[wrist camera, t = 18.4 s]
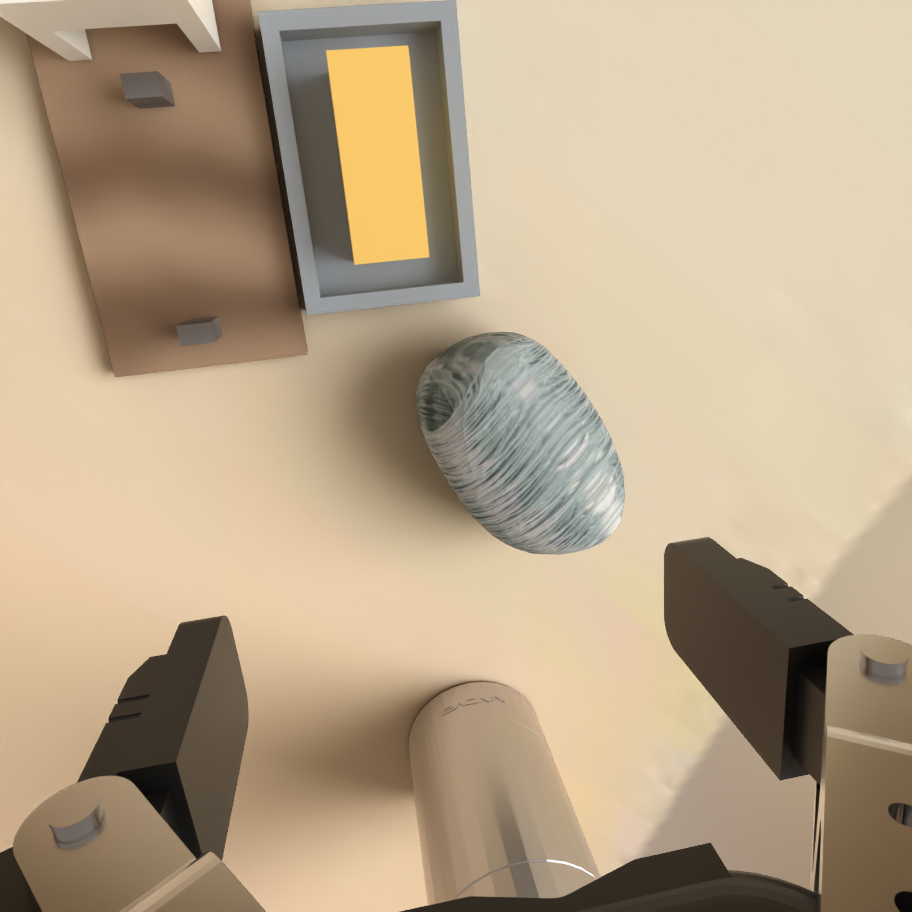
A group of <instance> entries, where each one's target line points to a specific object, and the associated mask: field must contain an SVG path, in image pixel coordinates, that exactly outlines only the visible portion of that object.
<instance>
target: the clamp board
mask: <svg viewBox="0 0 912 912" xmlns="http://www.w3.org/2000/svg"><path fill="white" fill-rule="evenodd" d="M212 3H213V8H214V14H215V20H216V25H217V31H218V36H219V42H220V47H221V51H217V52H202V53H199V52H198V50H197V49H196V48H195V46H194V45H193V44H192V43H191V41H190V40H189V39H188V37H187V36H186V35H185V34H184V32H183V31H182V30H181V28H180V27H179V26H178V25H177V23H176V24H160V25H143V26H127V27H111V28H94V29H85V31H86V36H87V40H88V44H89V48H90V53H91V57H92V60H81V61H68V60H67V59H65V58H64V57H62V56H60V55H59V54H57V53H56V52H54V51H53V50H51V49H50V48H48V47H46V46H45V45H43V44H42V43H40V42H39V41H37V40H36V39H34V38H33V37H31V36H29V35H28V34H27V38H28V42H29V46H30V50H31V54H32V58H33V61H34V65H35V69H36V73H37V77H38V81H39V85H40V89H41V92H42V96H43V100H44V104H45V108H46V112H47V116H48V120H49V123H50V127H51V131H52V135H53V139H54V143H55V147H56V151H57V154H58V158H59V162H60V166H61V170H62V174H63V178H64V182H65V185H66V189H67V193H68V197H69V201H70V205H71V209H72V212H73V216H74V220H75V224H76V228H77V232H78V236H79V240H80V243H81V247H82V251H83V255H84V259H85V263H86V267H87V271H88V274H89V278H90V282H91V286H92V290H93V294H94V298H95V302H96V305H97V309H98V313H99V317H100V321H101V325H102V329H103V333H104V336H105V340H106V344H107V348H108V352H109V356H110V360H111V364H112V367H113V371H114V375H115V377H122V376H130V375H139V374H147V373H155V372H164V371H172V370H181V369H189V368H197V367H206V366H214V365H223V364H231V363H239V362H248V361H256V360H265V359H273V358H281V357H290V356H298V355H307V352H308V351H307V345H306V339H305V333H304V327H303V321H302V315H301V309H300V302H299V296H298V290H297V284H296V278H295V272H294V266H293V260H292V254H291V248H290V242H289V236H288V230H287V224H286V217H285V211H284V205H283V199H282V193H281V187H280V181H279V175H278V169H277V163H276V157H275V151H274V145H273V138H272V132H271V126H270V120H269V114H268V108H267V102H266V96H265V90H264V84H263V78H262V72H261V66H260V59H259V53H258V47H257V41H256V35H255V29H254V23H253V17H252V11H251V5H250V0H212Z"/></svg>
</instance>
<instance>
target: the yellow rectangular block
mask: <svg viewBox="0 0 912 912" xmlns="http://www.w3.org/2000/svg"><path fill="white" fill-rule="evenodd" d="M326 55H327V66H328V75H329V83H330V90H331V98H332V105H333V112H334V120H335V127H336V135H337V142H338V150H339V157H340V165H341V172H342V180H343V187H344V195H345V202H346V209H347V217H348V224H349V232H350V239H351V247H352V254H353V262H354V264H355V265H358V264H367V263H377V262H387V261H397V260H407V259H417V258H427V257H429V248H428V238H427V228H426V218H425V208H424V197H423V187H422V177H421V167H420V157H419V147H418V137H417V127H416V117H415V107H414V97H413V87H412V77H411V67H410V57H409V47H408V45H405V46H390V47H374V48H358V49H342V50H327V51H326Z"/></svg>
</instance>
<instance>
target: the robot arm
mask: <svg viewBox="0 0 912 912" xmlns="http://www.w3.org/2000/svg"><path fill="white" fill-rule="evenodd" d="M664 620H665V627H666V631H667V635H668V638H669V640H670V643H671V645H672V647H673V648H674V650H675V651H676V653H677V654H678V655H679V656H680V658H681V659H682V660H683V661H684V663H685V664H686V665H687V666H688V667H689V669H690V670H691V671H692V672H693V674H694V675H695V676H696V677H697V679H698V680H699V681H700V682H701V684H702V685H703V686H704V687H705V688H706V690H707V691H708V692H709V693H710V695H711V696H712V697H713V698H714V700H715V701H716V702H717V703H718V704H719V706H720V707H721V708H722V709H723V711H724V712H725V713H726V714H727V716H728V717H729V718H730V719H731V721H732V722H733V723H734V724H735V725H736V727H737V728H738V729H739V730H740V732H741V733H742V734H743V735H744V737H745V738H746V739H747V740H748V742H749V743H750V744H751V745H752V746H753V748H754V749H755V750H756V751H757V753H758V754H759V755H760V756H761V758H762V759H763V760H764V761H765V762H766V764H767V765H768V766H769V767H770V769H771V770H772V771H773V772H774V773H775V775H776V776H777V777H778V779H779V780H784V779H789V778H794V777H798V776H803V775H808V774H810V775H811V776H812V777H813V778H814V779H815V781H816V790H815V802H814V803H815V804H814V822H813V823H814V824H813V842H812V863H811V883H810V890H808V889H806V888H803V887H801V886H798V885H796V884H792V883H790V882H787V881H784V880H781V879H778V878H774V877H770V876H766V875H761V874H757V873H750V872H743V871H733V870H731V871H730V870H727V869H726V867H725V866H724V864H723V862H722V860H721V859H720V857H719V856H718V854H717V853H716V851H715V849H714V848H713V846H712V844H711V843H707V844H703V845H698V846H694V847H689V848H685V849H681V850H676V851H671V852H667V853H662V854H658V855H653V856H649V857H644V858H640V859H635V860H633V861H631V862H629V863H627V864H625V865H623V866H621V867H619V868H618V869H616V870H614V871H612V872H610V873H608V874H606V875H604V876H602V877H601V876H600V874H599V871H598V869H597V866H596V864H595V861H594V859H593V856H592V854H591V851H590V849H589V846H588V844H587V841H586V839H585V836H584V834H583V831H582V829H581V826H580V824H579V822H578V819H577V817H576V814H575V812H574V809H573V807H572V804H571V802H570V799H569V797H568V794H567V792H566V789H565V787H564V784H563V782H562V779H561V777H560V774H559V772H558V769H557V767H556V764H555V762H554V759H553V757H552V754H551V751H550V749H549V746H548V744H547V741H546V739H545V736H544V734H543V731H542V729H541V726H540V724H539V721H538V719H537V717H536V714H535V712H534V710H533V708H532V706H531V705H530V703H529V702H528V701H527V700H526V699H525V698H524V697H523V696H522V695H521V694H520V693H518V692H517V691H515V690H513V689H511V688H510V687H507V686H504V685H501V684H497V683H490V682H474V683H467V684H463V685H459V686H456V687H453V688H451V689H449V690H447V691H445V692H443V693H441V694H439V695H438V696H437V697H435V698H434V699H432V700H431V701H430V702H429V703H428V704H427V705H426V706H425V707H424V708H423V709H422V710H421V711H420V713H419V714H418V716H417V718H416V719H415V721H414V723H413V726H412V728H411V731H410V735H409V745H408V746H409V754H410V762H411V771H412V779H413V787H414V797H415V805H416V813H417V821H418V829H419V837H420V845H421V853H422V861H423V869H424V877H425V885H426V893H427V901H428V906H423V907H419V908H414V909H410V910H405V911H401V912H912V645H910V644H908V643H905V642H902V641H900V640H896V639H893V638H889V637H884V636H877V635H864V634H861V635H854V634H852V633H851V632H849V631H848V630H847V629H846V628H844V627H843V626H842V625H841V624H839V623H838V622H837V621H835V620H834V619H833V618H831V617H830V616H829V615H828V614H826V613H825V612H824V611H822V610H821V609H820V608H818V607H817V606H816V605H815V604H813V603H812V602H811V601H809V600H808V599H804V598H803V595H802V594H800V593H799V592H798V591H796V590H795V589H794V588H793V587H788V584H787V583H786V582H785V581H783V580H782V579H781V578H780V577H778V576H777V575H776V574H774V573H773V572H772V571H771V570H769V569H767V568H765V567H763V566H760V565H758V564H755V563H753V562H750V561H748V560H745V559H743V558H739V559H736V558H735V557H734V556H732V555H731V554H730V553H729V552H728V551H726V550H725V549H724V548H723V547H721V546H720V545H719V544H718V543H716V542H715V541H714V540H713V539H711V538H709V537H705V538H699V539H693V540H687V541H681V542H675V543H670V544H668V545H667V547H666V549H665V554H664ZM247 729H248V700H247V693H246V688H245V684H244V679H243V675H242V671H241V667H240V662H239V658H238V654H237V649H236V645H235V641H234V636H233V632H232V628H231V624H230V622H229V619H228V618H227V617H226V616H219V617H213V618H207V619H201V620H194V621H188V622H182V623H181V624H180V625H179V626H178V629H177V631H176V633H175V636H174V638H173V640H172V643H171V645H170V647H169V650H168V652H167V654H166V655H160V656H154V657H150V658H149V659H148V660H147V661H146V662H145V663H144V664H143V665H141V666H140V667H139V668H138V669H137V670H136V671H135V672H134V673H133V674H132V675H131V676H130V677H129V678H128V680H127V682H126V684H125V686H124V688H123V690H122V692H121V694H120V696H119V698H118V704H115V706H114V708H113V710H112V712H111V714H110V716H109V723H106V725H105V727H104V729H103V731H102V733H101V735H100V737H99V739H98V741H97V743H96V745H95V747H94V749H93V751H92V753H91V755H90V757H89V759H88V761H87V763H86V765H85V767H84V770H83V772H82V774H81V776H80V778H79V780H78V782H77V783H76V784H73V785H71V786H69V787H67V788H65V789H63V790H61V791H59V792H58V793H56V794H55V795H53V796H51V797H50V798H49V799H47V800H46V801H45V802H43V803H42V804H41V805H39V806H38V807H37V808H36V809H35V810H34V811H33V812H32V813H31V814H30V815H29V816H28V817H27V818H26V820H25V821H24V822H23V824H22V825H21V827H20V828H19V830H18V832H17V834H16V836H15V839H14V843H13V847H11V848H10V849H7V850H5V851H3V852H1V853H0V912H266V911H265V910H264V909H263V908H262V906H261V905H260V904H259V903H258V902H257V901H256V900H255V898H254V897H253V896H252V895H251V894H250V893H249V892H248V890H247V889H246V888H245V887H244V886H243V885H242V884H241V882H240V881H239V880H238V879H237V878H236V877H235V876H234V874H233V873H232V872H231V871H230V870H229V869H228V868H227V866H226V865H225V864H224V863H223V862H222V858H223V852H224V847H225V842H226V837H227V832H228V827H229V822H230V816H231V811H232V806H233V801H234V796H235V791H236V786H237V780H238V775H239V770H240V765H241V760H242V755H243V750H244V744H245V739H246V734H247Z"/></svg>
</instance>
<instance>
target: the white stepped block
mask: <svg viewBox="0 0 912 912" xmlns="http://www.w3.org/2000/svg"><path fill="white" fill-rule="evenodd" d="M0 17H2V18H3V19H5V20H6V21H8V22H9V23H11V24H12V25H14V26H15V27H17V28H19V29H20V30H22V31H23V32H25V33H26V34H28V35H29V36H31V37H33V38H34V39H36V40H37V41H39V42H40V43H42V44H43V45H45V46H46V47H48V48H50V49H51V50H53V51H54V52H56V53H57V54H59V55H60V56H62V57H64V58H65V59H67V60H68V61H81V60H92V57H91V53H90V48H89V44H88V40H87V36H86V31H85V29H94V28H111V27H127V26H143V25H160V24H176V23H177V25H178V26H179V27H180V28H181V30H182V31H183V32H184V34H185V35H186V36H187V37H188V39H189V40H190V41H191V43H192V44H193V45H194V46H195V48H196V49H197V50H198V52H199V53H202V52H217V51H221V47H220V42H219V36H218V31H217V25H216V20H215V14H214V8H213V3H212V0H0Z"/></svg>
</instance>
